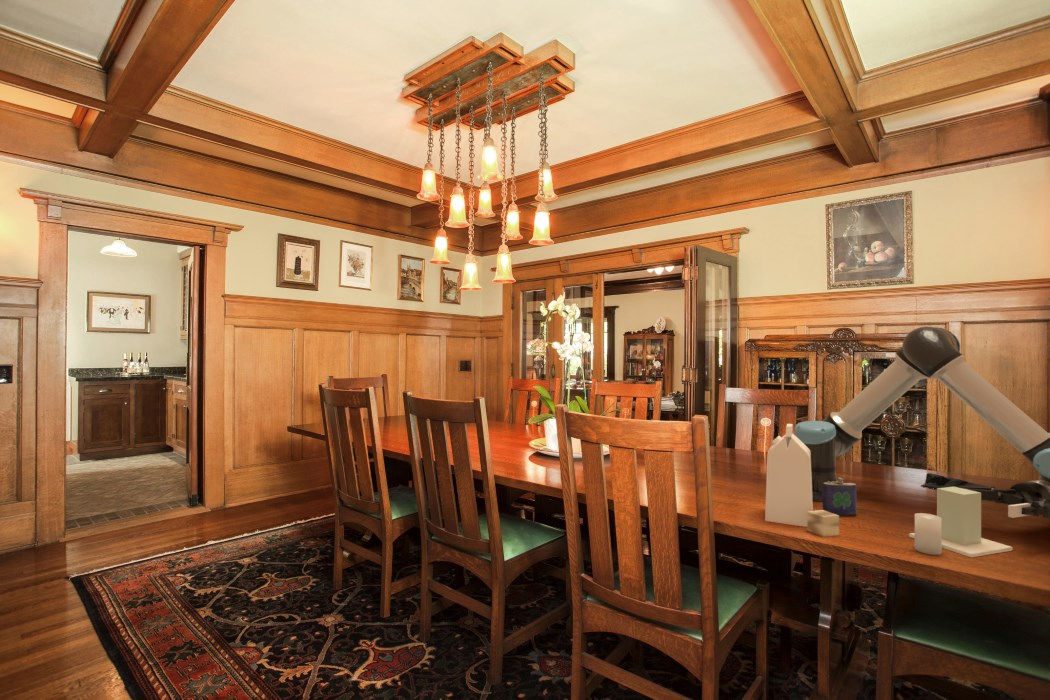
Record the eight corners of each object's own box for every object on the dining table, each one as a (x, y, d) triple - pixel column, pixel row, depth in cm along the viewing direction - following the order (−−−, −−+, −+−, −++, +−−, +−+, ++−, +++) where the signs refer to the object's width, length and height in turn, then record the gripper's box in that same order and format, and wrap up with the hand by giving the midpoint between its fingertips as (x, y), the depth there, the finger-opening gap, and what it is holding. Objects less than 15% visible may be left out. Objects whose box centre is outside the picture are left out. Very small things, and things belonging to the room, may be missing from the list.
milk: (812, 527, 138) (812, 429, 139) (765, 520, 144) (765, 426, 144) (813, 515, 149) (813, 423, 149) (768, 509, 155) (768, 421, 155)
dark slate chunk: (989, 504, 162) (989, 488, 162) (915, 487, 183) (915, 473, 183) (1020, 499, 167) (1020, 484, 167) (945, 483, 188) (945, 470, 188)
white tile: (909, 536, 132) (909, 533, 132) (948, 530, 136) (948, 527, 136) (971, 557, 118) (971, 554, 118) (1012, 550, 123) (1012, 547, 123)
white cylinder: (909, 548, 124) (909, 514, 124) (924, 545, 126) (924, 512, 126) (931, 555, 119) (931, 520, 119) (946, 553, 121) (946, 518, 121)
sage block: (936, 537, 129) (936, 488, 129) (953, 534, 131) (953, 486, 131) (963, 545, 124) (963, 494, 124) (981, 542, 125) (981, 492, 125)
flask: (853, 513, 151) (853, 476, 151) (859, 516, 148) (859, 478, 148) (820, 513, 151) (820, 476, 151) (826, 516, 148) (825, 478, 148)
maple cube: (807, 530, 136) (807, 511, 136) (822, 528, 138) (822, 509, 138) (823, 537, 132) (823, 517, 132) (839, 535, 133) (839, 515, 133)
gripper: (1100, 526, 123) (1040, 535, 117) (980, 498, 147) (925, 504, 141) (1099, 494, 123) (1040, 502, 117) (980, 471, 147) (925, 476, 141)
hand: (977, 503), depth 129 cm, fingers open, 13 cm apart
